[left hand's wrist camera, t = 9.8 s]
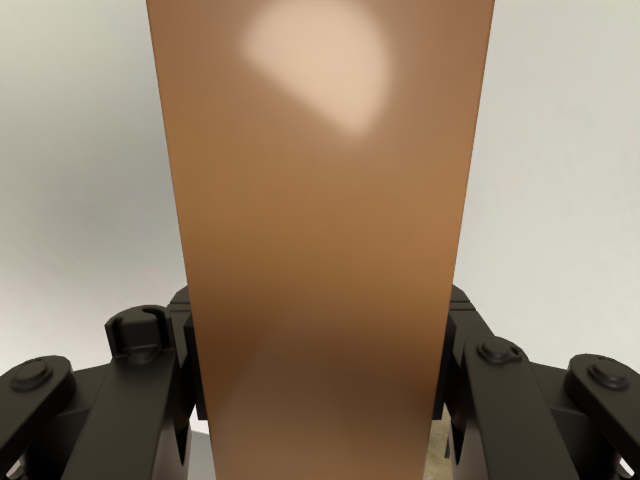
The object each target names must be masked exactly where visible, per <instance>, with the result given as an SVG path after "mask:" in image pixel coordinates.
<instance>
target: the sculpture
mask: <svg viewBox="0 0 640 480" xmlns="http://www.w3.org/2000/svg"><path fill="white" fill-rule="evenodd" d="M450 421H451V417H450V415H449V412H448V410H447V407H446V405H445V402H444V409H443V415H442V420H432V424H431V430H430V437H429V444H428V450H427V457H426V464H425V470H424V477H423V480H453V475H452V466H451V456H450V457H449V459H447V458H444V456H445V450H446V444H447V438H448V433H449V427H450Z"/></svg>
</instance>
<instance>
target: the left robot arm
mask: <svg viewBox="0 0 640 480" xmlns="http://www.w3.org/2000/svg"><path fill="white" fill-rule="evenodd" d="M104 326H105V330H106V334H107V338H108V342H109V346H110V349H111V353H112V360H111V362H110V363H109V364H105V365H101V366H97V367H92V368H87V369H82V370H78V371H73V369H72V366H71V363H70V361H69V360H68V359H66V358H65V357H62V356H56V355H52V356H43V357H38V358H35V359H31V360H28V361H25V362H24V363H22V364H20V365H17V366H15V367H13V368H12V369H10V370H9V371H7V372H6V373H5V374H3V375H2V376H0V480H187V476H188V466H189V457H190V447H191V437H192V434H191V427H190V421H189V419H190V416H191V414H192V411H193V409H194V406H195V404H196V410H197V416H198V420H207V413H206V406H205V399H204V393H203V386H202V379H201V372H200V365H199V359H198V352H197V345H196V338H195V331H194V325H193V318H192V311H191V304H190V297H189V291H188V285H187V286H186V287H184V288H183V289H181V290H180V291H178V292H177V293H176V294H175V296H174V297H173V299H172V300H171V301H170V304H168V306H167V307H163V306H159V305H142V306H137V307H132V308H130V309H127V310H124V311H122V312H120V313H118V314H116V315H115V316H113V317H112V318H110V319H109V321H108V322H107V323H106V324H105V325H104ZM444 402H445V405H446V407H447V410H448V412H449V415H450V417H451V421H450V427H449V433H448V438H447V444H446V450H445V456H444V458H447V459H449V457H450V456H451V466H452V475H453V480H640V374H638V373H637V372H635V371H634V370H633V369H631V368H630V367H628V366H626V365H624V364H622V363H620V362H618V361H616V360H614V359H612V358H609V357H605V356H601V355H594V354H580V355H575V356H574V357H573V358H572V359H570V362H569V365H568V368H567V370H565V369H560V368H556V367H551V366H546V365H541V364H537V363H533V362H530V361H529V359H528V357H527V355H526V354H525V353H524V351H523V350H522V349H521V348H520V347H518V346H517V345H515V344H514V343H513V342H510V341H508V340H506V339H504V338H501V337H497V336H494V334H493V333H492V331H491V330H490V328H489V327H488V326H487V324H486V323H485V321H484V320H483V319H482V317H481V316H480V314H479V313H478V311H476V309H475V307H474V306H473V304H472V303H470V300H469V299H468V297H467V296H466V294H465V293H464V292H463V291H462V290H461V289H459V288H458V287H456V286H455V285H453V284H452V290H451V297H450V303H449V310H448V317H447V324H446V330H445V337H444V344H443V350H442V357H441V364H440V370H439V377H438V384H437V390H436V397H435V404H434V410H433V417H432V420H442V415H443V409H444ZM621 458H623V459H624V460H625V462H626V463H627V464H628V465H629V466H630V468H631V469H632V470H633V471H634V472H635V473H634V475H633V476H631V475H630V474H629V473H628V472H627V471H626V470H625V469H624V468H623V467H622V465H621V464H620V460H621ZM18 459H19V461H20V464H21V465H20V466H19V467H18V469H17V470H16V471H15V472H14V473H13V474H12V475H11V476H10V477H9V478H8V477H7V476H6V474H7V472H8V471H9V470H10V469H11V468H12V466H13V465H14V464H15V463H16V462H17V460H18Z"/></svg>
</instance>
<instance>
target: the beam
mask: <svg viewBox="0 0 640 480" xmlns="http://www.w3.org/2000/svg"><path fill="white" fill-rule="evenodd" d="M494 3H495V0H146V5H147V11H148V18H149V25H150V32H151V39H152V45H153V52H154V59H155V66H156V73H157V80H158V86H159V93H160V100H161V107H162V114H163V120H164V127H165V134H166V141H167V148H168V154H169V161H170V168H171V175H172V182H173V188H174V195H175V202H176V209H177V216H178V222H179V229H180V236H181V243H182V250H183V257H184V263H185V270H186V277H187V284H188V291H189V297H190V304H191V311H192V318H193V325H194V331H195V338H196V345H197V352H198V359H199V365H200V372H201V379H202V386H203V393H204V399H205V406H206V413H207V420H208V427H209V433H210V440H211V447H212V454H213V461H214V467H215V474H216V480H423V477H424V470H425V464H426V457H427V450H428V444H429V437H430V430H431V424H432V417H433V410H434V404H435V397H436V390H437V384H438V377H439V370H440V364H441V357H442V350H443V344H444V337H445V330H446V324H447V317H448V310H449V303H450V297H451V290H452V283H453V277H454V270H455V263H456V257H457V250H458V243H459V237H460V230H461V223H462V217H463V210H464V203H465V197H466V190H467V183H468V177H469V170H470V163H471V157H472V150H473V143H474V136H475V130H476V123H477V116H478V110H479V103H480V96H481V90H482V83H483V76H484V70H485V63H486V56H487V50H488V43H489V36H490V30H491V23H492V16H493V10H494Z"/></svg>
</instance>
